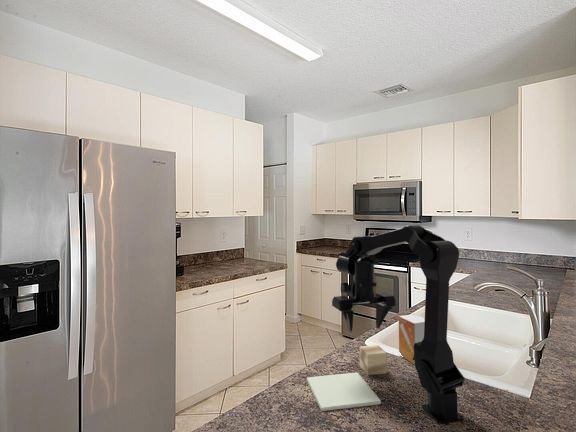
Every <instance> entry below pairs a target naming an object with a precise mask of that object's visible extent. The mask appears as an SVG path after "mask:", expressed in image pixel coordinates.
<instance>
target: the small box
mask: <svg viewBox="0 0 576 432" xmlns="http://www.w3.org/2000/svg"><path fill="white" fill-rule="evenodd" d="M424 322H425V317H421V316H419V315H416V314H405V315H398V353H399V352H400V353H401V355H402V356H403V357H404V359H405V360H406V361H408V362H410V363H411V364H412V365H414V366H415V360H413V357H414V344H415V343H417V342H421V341H422V340H423V338H424ZM402 356H401V357H402ZM403 357H402V358H403Z"/></svg>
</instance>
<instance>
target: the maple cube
mask: <svg viewBox="0 0 576 432" xmlns="http://www.w3.org/2000/svg"><path fill="white" fill-rule="evenodd" d="M359 367H360V368H361V370H363V372H364V373H365V374H366V375H367V376H372V375H381V374H382V375H383V374H388V353H387V351H385V350H384V348H382V347H381V346H380V345H379V344H376V345H375V344H374V345H362V346H359Z"/></svg>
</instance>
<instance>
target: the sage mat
mask: <svg viewBox="0 0 576 432" xmlns="http://www.w3.org/2000/svg"><path fill="white" fill-rule="evenodd" d="M306 382H307V384H308V386H309V388H310V390H311V392H312V394H313V397H314V399H315V401H316V403H317V406H318V407H319V409H320V412H325V411H326V412H327V411H334V410H343V409H351V408H360V407H365V406H366V407H368V406H375V405H381V404H382V401H381V399H380V398H379V397H378V396H377V394H376V393H375V391H373V390H372V388H371V387H370V386H369V384H368V383H367V382H366V380H364V378H363V377H362V376H361V375H360V374H359V372H349V373H338V374H337V373H336V374H328V375H318V376H309V377H306Z"/></svg>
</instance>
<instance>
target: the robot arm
mask: <svg viewBox="0 0 576 432" xmlns="http://www.w3.org/2000/svg"><path fill="white" fill-rule="evenodd" d="M402 244H408V247H409V248H410V250H411V252H412V253H413V254H415V255H416V256H417V257H418V258H419V266H420V269H421V271H422V273H423V274H424V276H425V296H424V297H425V300H424V302H425V303H424V319H425V322H424V338H423V340H422V341H421V342H417V343H415V344H414V357H413V360H415V365H414V366H415V367H414V368H415V370H416V372H417V376H418V379H419V384H420V387H422V389H425V391H426V392H427V404H422V407H421V408H422V409H423V410H425V411H426V412H427V414H428V415H429V416H430V417H431V418H433V420H434V421H436V423H438V424H443V423H444V424H445V423H451V422H452V423H453V422H457V421H458V422H459V421H464V420H465V416H463V415H462V414H461V413H460V412H459V411H458V410H459V409H458V392H457V388H459V387H460V388H462V387H463V386H464V383H465V381H466V379H465V377H464V375H463V374H462V372H461V371H460V370H459V368H458V366H457V365H456V364H455V361H454V354H453V349H452V348H451V346H450V344H449V343H448V318H449V317H448V316H449V297H450V295H449V294H450V293H449V292H450V280H451V278H452V277H453V274H454V273H455V271H456V269H457V266H458V262H459V256H460V252H459V248H458V246H456V244H455V243H454V242H452V241H450V240H446V239H444V238H443V237H442V236H441V235H440V236H439V235H438V234H435V233H433V232H432V231H429V230H427V229H426V228H425V227H423V226H421V225H419V224H418V225H417V224H416V225H415V224H414V225H413V224H412V225H405V226H404V227H400V228H397V229H393V230H391V231H387V232H383V233H379V234H375V235H360V236H354V237H352V241H351V243H350V244H349V246H348V247H347V250H346V251H342V252H341V253H340V256H339V257H338V258H337V260H336V262H335V266H336V269H337V271H338V272H339V273H341V274H342V273H343V274H347V275H351V276H354V279H352V281H351V284H349V283H348V282H341V283H340V293H341V294H346V295H337V296H333V298H332V299H331V306H332V307H333V308H334V309H337V310H338V311H339V312H341V313H342V316H343V318H344V320H345V323H346V325H347V329H348V331H349V332H350V333H351V332H353V327H354V326H353V323H354V310H353V307H354V306H362V305H370V304H371V305H372V304H374V306H375V326H376V329H378V330H379V329H380V328H381V326H382V324H383V322H384V320H385V318H386V317H387V314H388V313H389V312H390V310H393V307H396V306H397V299H396V296H394V295H393V294H391V293H388V292H377V293H375V287H377V282H376V281H375V265H380V261H379V259H377V258H376V257H375V255H376V254H378V253H381V251H382V250H383V249H386V248H389V247H390V248H391V247H393V246H398V245H402ZM349 297H351V298H349Z"/></svg>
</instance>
